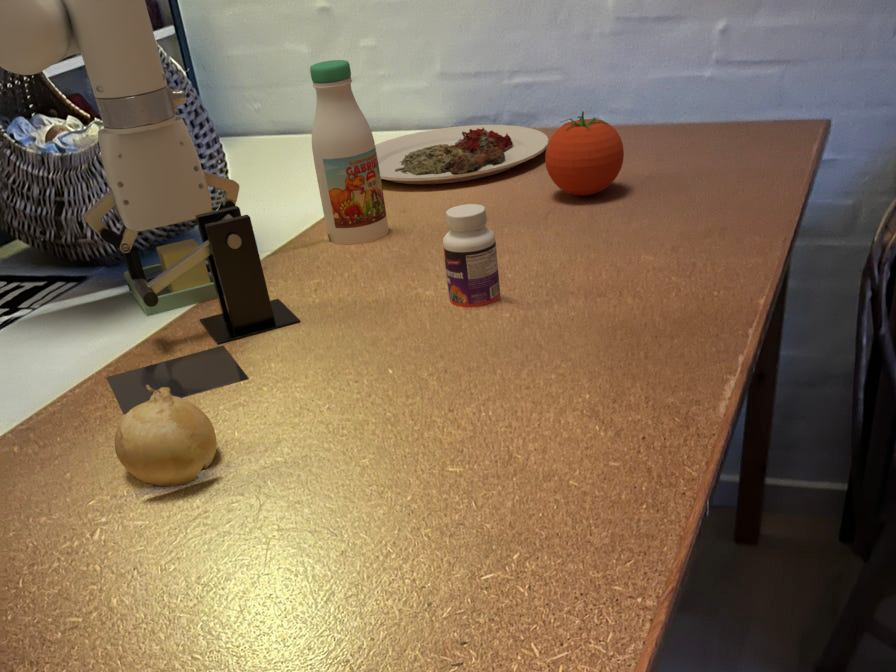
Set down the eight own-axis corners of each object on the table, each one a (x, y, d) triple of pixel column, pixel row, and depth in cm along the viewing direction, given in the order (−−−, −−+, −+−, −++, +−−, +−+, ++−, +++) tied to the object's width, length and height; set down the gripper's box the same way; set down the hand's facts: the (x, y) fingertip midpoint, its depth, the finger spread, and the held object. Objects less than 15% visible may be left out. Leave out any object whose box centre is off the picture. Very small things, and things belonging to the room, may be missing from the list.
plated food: (319, 191, 146) (315, 166, 143) (407, 138, 166) (404, 116, 164) (506, 193, 135) (504, 166, 133) (575, 136, 156) (574, 112, 153)
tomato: (612, 206, 125) (610, 120, 119) (536, 206, 129) (531, 122, 122) (633, 183, 132) (632, 100, 126) (561, 183, 136) (557, 103, 130)
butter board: (126, 424, 90) (123, 414, 89) (109, 386, 97) (105, 376, 96) (252, 388, 93) (249, 378, 92) (226, 354, 100) (223, 344, 100)
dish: (149, 324, 109) (142, 301, 108) (130, 293, 118) (123, 272, 116) (254, 297, 113) (248, 274, 111) (227, 269, 122) (222, 248, 120)
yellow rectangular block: (176, 299, 113) (162, 255, 110) (168, 290, 116) (155, 247, 113) (212, 290, 114) (200, 246, 111) (204, 281, 117) (192, 238, 114)
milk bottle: (319, 251, 123) (283, 71, 111) (347, 231, 129) (316, 57, 116) (373, 252, 121) (342, 68, 108) (399, 232, 126) (373, 54, 113)
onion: (239, 475, 80) (215, 395, 75) (145, 510, 77) (115, 429, 73) (205, 441, 85) (181, 364, 81) (117, 472, 83) (87, 395, 78)
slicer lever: (153, 314, 97) (137, 293, 95) (143, 299, 101) (128, 279, 99) (251, 242, 97) (237, 221, 96) (238, 231, 101) (225, 210, 99)
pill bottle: (443, 304, 105) (430, 209, 99) (488, 292, 106) (479, 198, 100) (462, 319, 101) (450, 222, 95) (509, 307, 102) (501, 210, 96)
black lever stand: (220, 353, 101) (186, 235, 93) (202, 330, 106) (169, 217, 99) (302, 331, 103) (276, 214, 96) (280, 309, 109) (254, 197, 101)
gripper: (208, 90, 108) (246, 248, 119) (49, 121, 103) (104, 283, 114) (225, 100, 103) (263, 264, 114) (58, 132, 98) (115, 301, 109)
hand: (183, 273), depth 114 cm, fingers open, 9 cm apart
